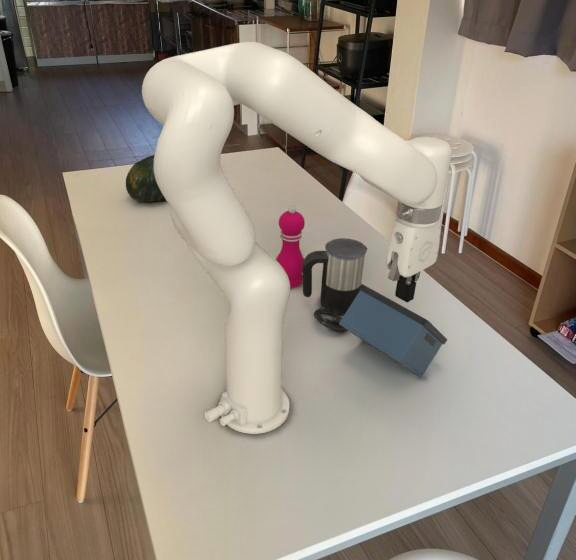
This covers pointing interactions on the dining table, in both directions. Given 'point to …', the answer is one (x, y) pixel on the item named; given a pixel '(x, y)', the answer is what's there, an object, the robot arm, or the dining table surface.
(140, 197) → the squash
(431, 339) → the blue storage bin
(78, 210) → the dining table surface
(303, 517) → the dining table surface
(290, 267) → the pepper mill
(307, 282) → the milk frother
